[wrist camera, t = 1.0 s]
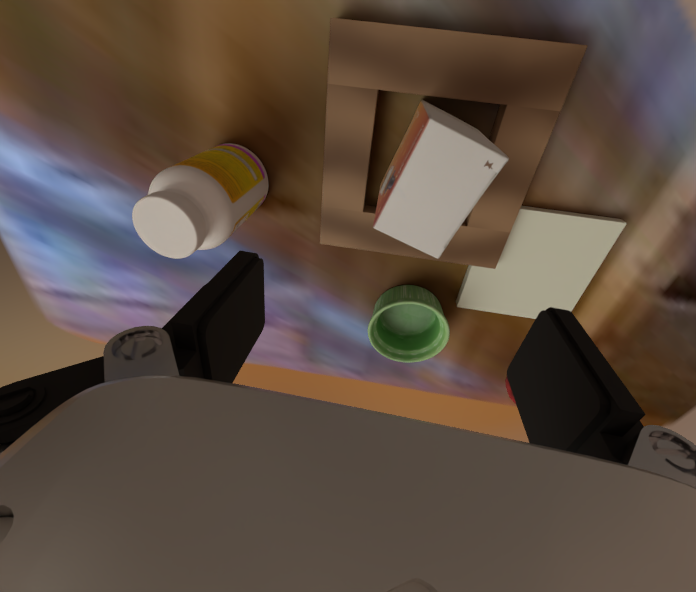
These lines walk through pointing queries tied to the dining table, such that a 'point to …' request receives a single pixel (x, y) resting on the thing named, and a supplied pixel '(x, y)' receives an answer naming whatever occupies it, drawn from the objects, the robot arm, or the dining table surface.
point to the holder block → (449, 82)
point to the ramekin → (408, 324)
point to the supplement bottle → (201, 200)
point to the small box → (435, 180)
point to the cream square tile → (541, 263)
